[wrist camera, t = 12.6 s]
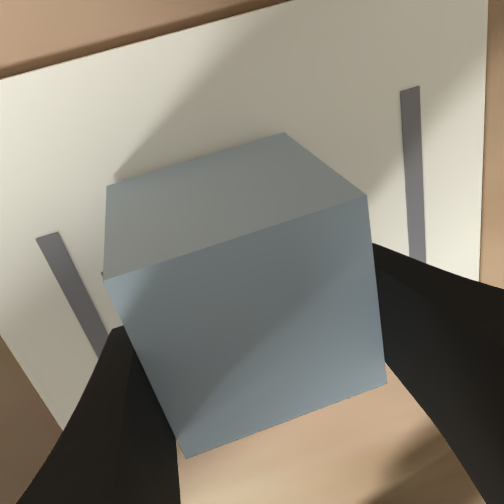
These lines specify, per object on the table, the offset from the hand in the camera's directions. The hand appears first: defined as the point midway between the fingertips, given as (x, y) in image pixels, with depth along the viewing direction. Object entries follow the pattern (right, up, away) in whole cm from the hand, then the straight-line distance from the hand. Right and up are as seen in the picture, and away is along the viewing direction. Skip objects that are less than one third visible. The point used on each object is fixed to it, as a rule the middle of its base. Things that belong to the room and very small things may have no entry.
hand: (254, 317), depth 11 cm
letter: (0, +2, +4) cm, 4 cm away
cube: (-1, +2, +3) cm, 4 cm away
